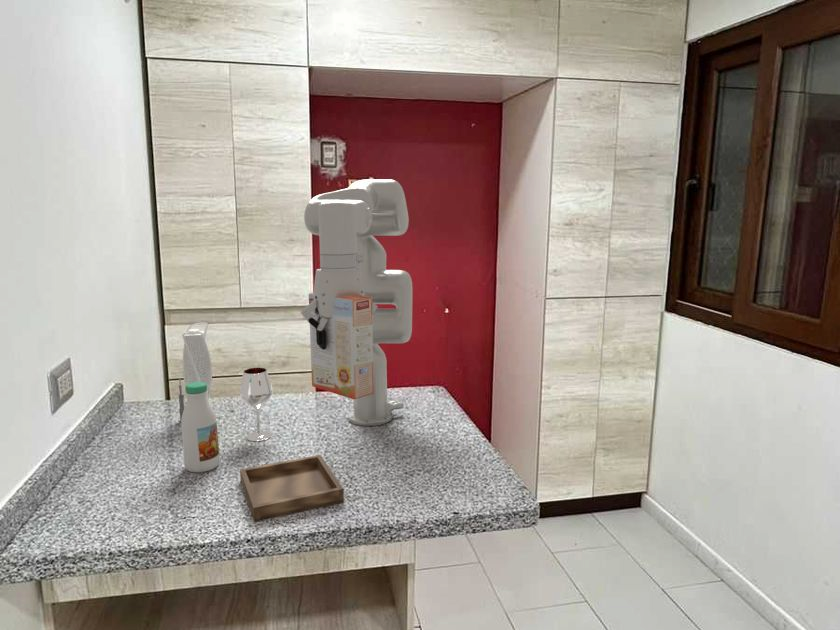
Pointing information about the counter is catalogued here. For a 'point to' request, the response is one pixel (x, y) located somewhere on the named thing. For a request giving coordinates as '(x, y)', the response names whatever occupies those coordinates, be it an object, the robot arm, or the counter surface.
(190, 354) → the skyscraper
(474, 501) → the counter surface
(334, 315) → the cracker box
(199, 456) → the milk bottle
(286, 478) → the walnut tray
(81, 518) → the counter surface
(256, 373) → the wineglass
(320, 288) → the robot arm
